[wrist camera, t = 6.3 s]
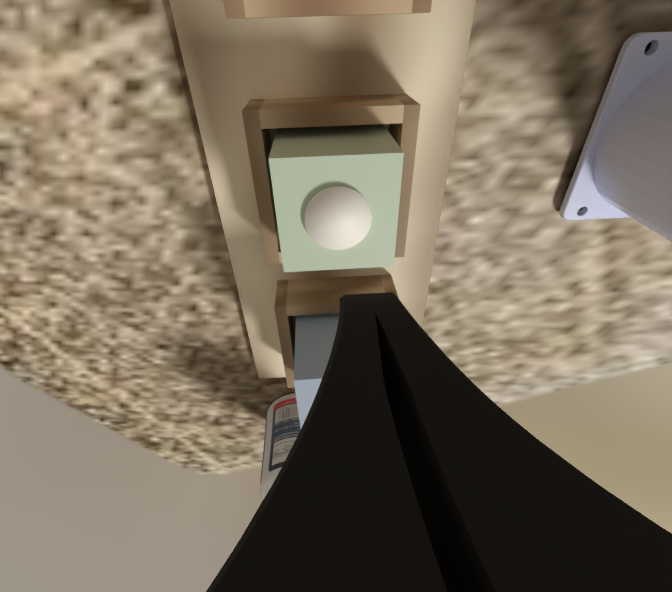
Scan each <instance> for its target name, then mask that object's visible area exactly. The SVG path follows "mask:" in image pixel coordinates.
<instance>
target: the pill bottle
mask: <svg viewBox="0 0 672 592" xmlns="http://www.w3.org/2000/svg"><path fill="white" fill-rule="evenodd" d="M300 430H301V427H300V421H299V414H298V407H297V400H296V393H292V394H287V395H284V396H282V397H280V398H278V399H277V400H275V401H274V402H273V403H272V404H271V406H270V407H269V409H268V412H267V418H266V428H265V441H264V452H263V462H262V471H261V481H260V482H261V483H260V493H261V497H262V499H263V500H264V498H265V496H266V495H267V493H268V491H269V489H270V488H271V486H272V484H273V483H274V481H275V479H276V477H277V475H278V473H279V472H280V470H281V468H282V466H283V464H284V462H285V460H286V458H287V456H288V454H289V452H290V450H291V448H292V446H293V444H294V442H295V440H296V438H297V436H298V434H299V432H300Z"/></svg>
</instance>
